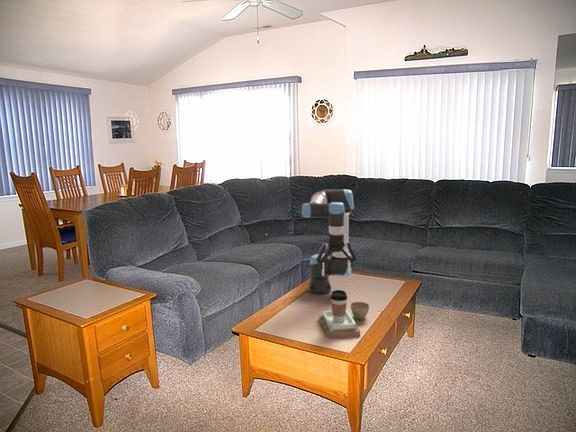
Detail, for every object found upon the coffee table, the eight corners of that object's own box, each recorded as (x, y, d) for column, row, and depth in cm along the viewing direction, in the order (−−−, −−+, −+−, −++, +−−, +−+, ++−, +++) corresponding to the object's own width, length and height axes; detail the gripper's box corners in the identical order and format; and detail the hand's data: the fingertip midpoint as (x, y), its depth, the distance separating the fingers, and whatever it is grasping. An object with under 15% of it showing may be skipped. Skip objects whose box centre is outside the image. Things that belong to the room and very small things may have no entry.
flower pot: (355, 322, 222) (355, 309, 221) (347, 315, 231) (347, 302, 230) (372, 320, 224) (372, 307, 223) (364, 313, 234) (364, 300, 233)
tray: (322, 316, 224) (322, 311, 223) (346, 314, 226) (346, 309, 225) (330, 331, 206) (330, 325, 206) (356, 329, 208) (356, 323, 207)
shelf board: (319, 319, 226) (319, 315, 226) (348, 317, 228) (348, 313, 228) (328, 338, 205) (328, 333, 204) (360, 336, 207) (360, 331, 206)
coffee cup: (345, 317, 220) (345, 289, 218) (348, 324, 212) (348, 295, 209) (329, 317, 220) (329, 290, 217) (331, 324, 212) (331, 296, 209)
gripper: (313, 236, 206) (313, 278, 210) (362, 234, 209) (362, 275, 213) (310, 233, 213) (310, 273, 217) (358, 230, 216) (357, 270, 220)
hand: (336, 274), depth 215 cm, fingers open, 13 cm apart
